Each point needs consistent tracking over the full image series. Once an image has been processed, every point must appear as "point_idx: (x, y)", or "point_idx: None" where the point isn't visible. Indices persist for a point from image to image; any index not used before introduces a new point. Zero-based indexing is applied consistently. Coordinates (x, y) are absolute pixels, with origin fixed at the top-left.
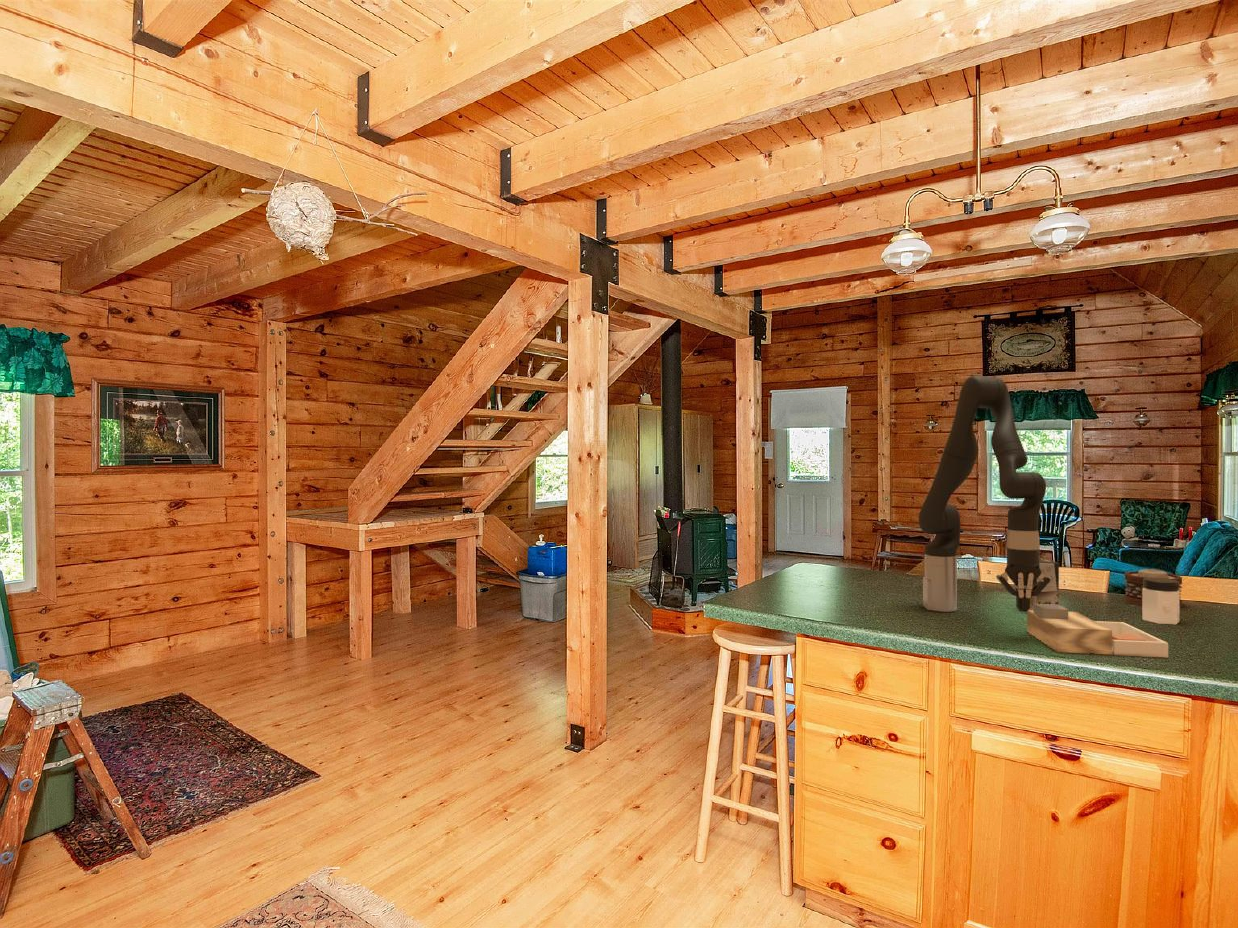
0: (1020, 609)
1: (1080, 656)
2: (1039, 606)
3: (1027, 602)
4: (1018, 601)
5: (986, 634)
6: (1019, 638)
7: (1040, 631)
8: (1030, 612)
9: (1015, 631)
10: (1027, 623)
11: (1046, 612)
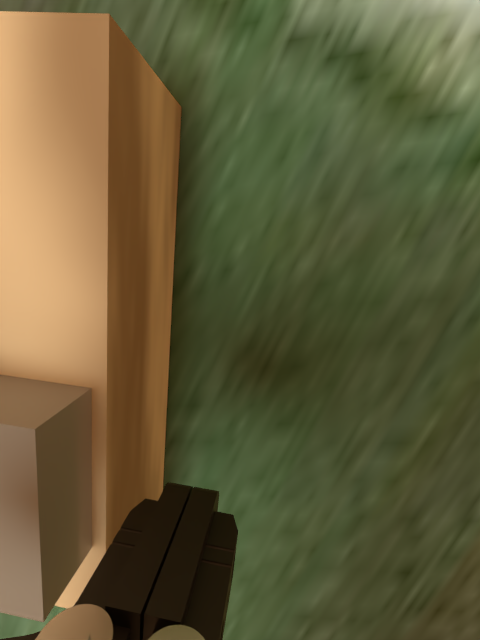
0: (219, 512)
1: None
2: (32, 518)
3: (131, 553)
4: (224, 592)
5: (407, 459)
6: (261, 382)
7: (151, 357)
8: None
9: None
10: None
11: (31, 405)
